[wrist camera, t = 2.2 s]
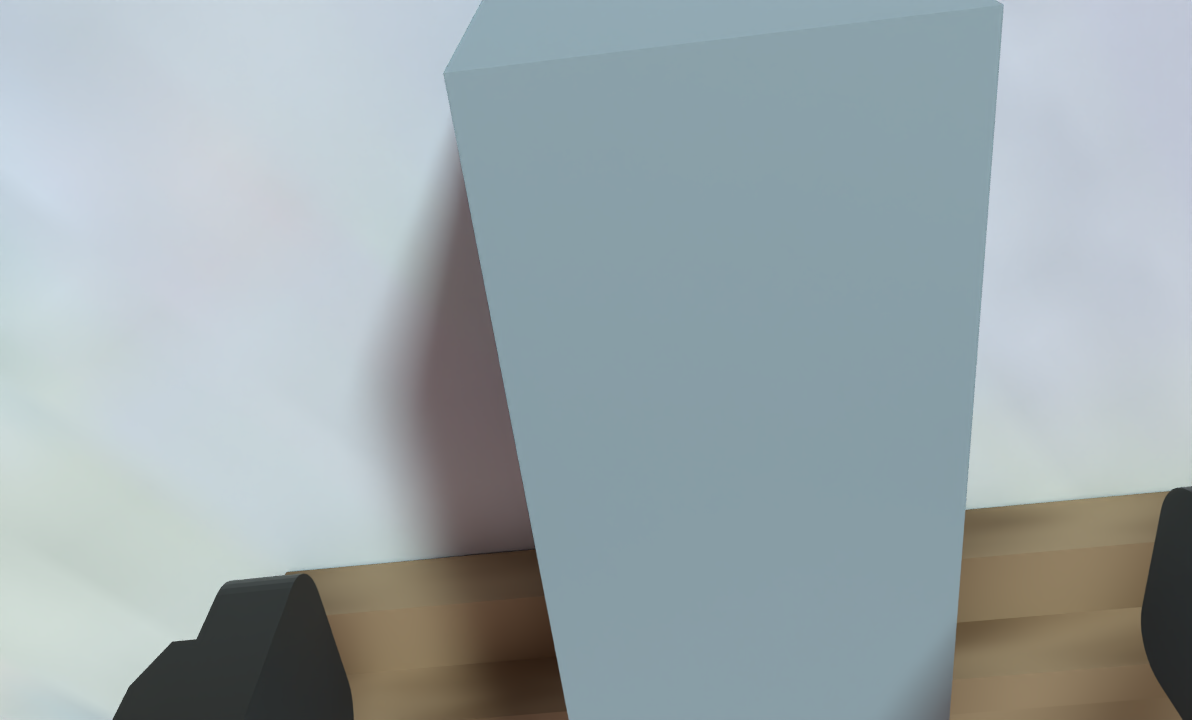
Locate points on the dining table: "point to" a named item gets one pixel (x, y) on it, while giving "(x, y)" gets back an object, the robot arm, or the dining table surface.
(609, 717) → the carton
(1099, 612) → the brown flat frame
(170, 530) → the dining table surface
